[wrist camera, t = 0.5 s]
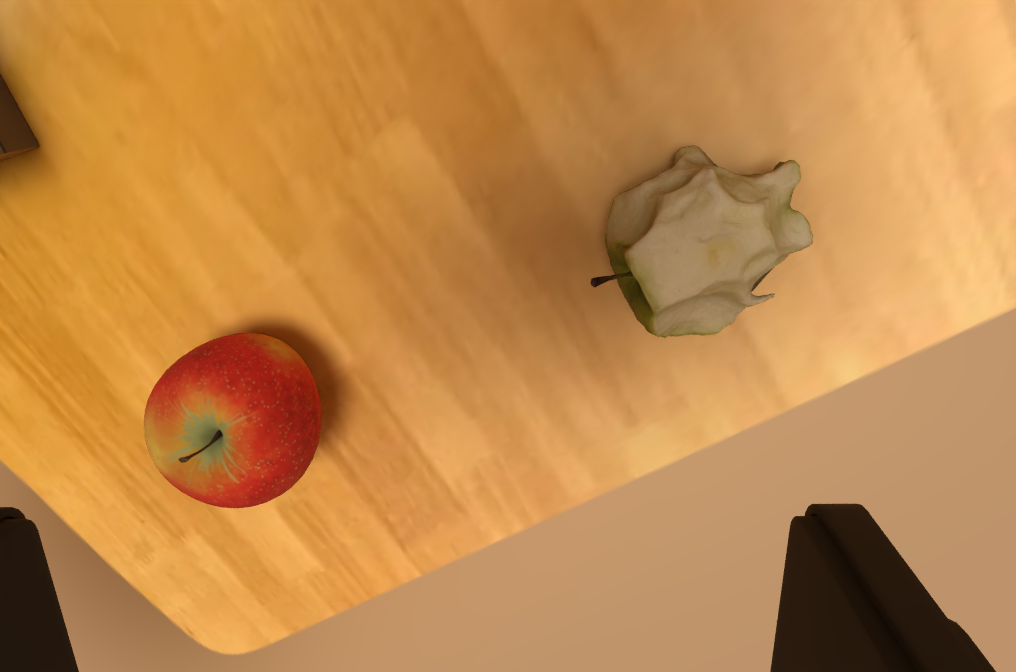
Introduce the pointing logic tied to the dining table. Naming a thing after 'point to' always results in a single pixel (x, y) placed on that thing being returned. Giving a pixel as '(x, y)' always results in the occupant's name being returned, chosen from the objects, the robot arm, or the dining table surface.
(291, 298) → the dining table surface
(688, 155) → the fruit
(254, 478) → the apple
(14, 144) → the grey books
